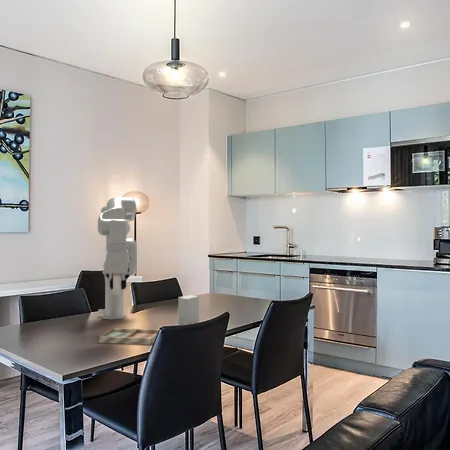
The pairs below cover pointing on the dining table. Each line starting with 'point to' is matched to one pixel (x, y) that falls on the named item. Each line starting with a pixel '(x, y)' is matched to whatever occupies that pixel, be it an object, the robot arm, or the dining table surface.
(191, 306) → the skincare box
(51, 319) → the dining table surface
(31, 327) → the dining table surface
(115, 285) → the cylinder
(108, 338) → the sorting tray
